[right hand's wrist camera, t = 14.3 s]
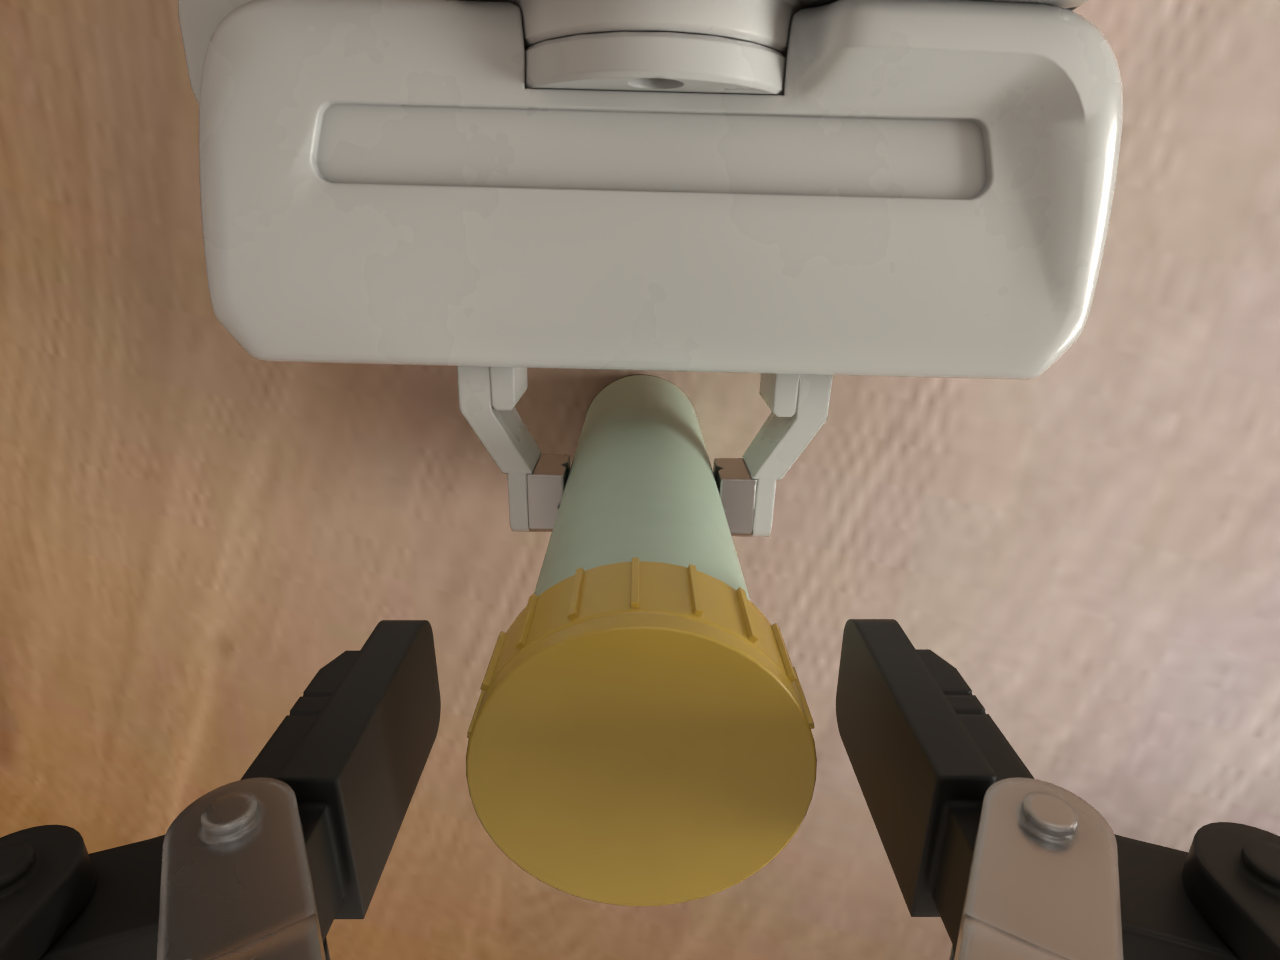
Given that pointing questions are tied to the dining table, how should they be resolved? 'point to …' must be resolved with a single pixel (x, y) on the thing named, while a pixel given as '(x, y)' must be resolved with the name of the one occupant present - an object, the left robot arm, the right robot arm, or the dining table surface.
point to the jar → (641, 489)
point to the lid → (641, 737)
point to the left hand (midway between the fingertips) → (641, 526)
